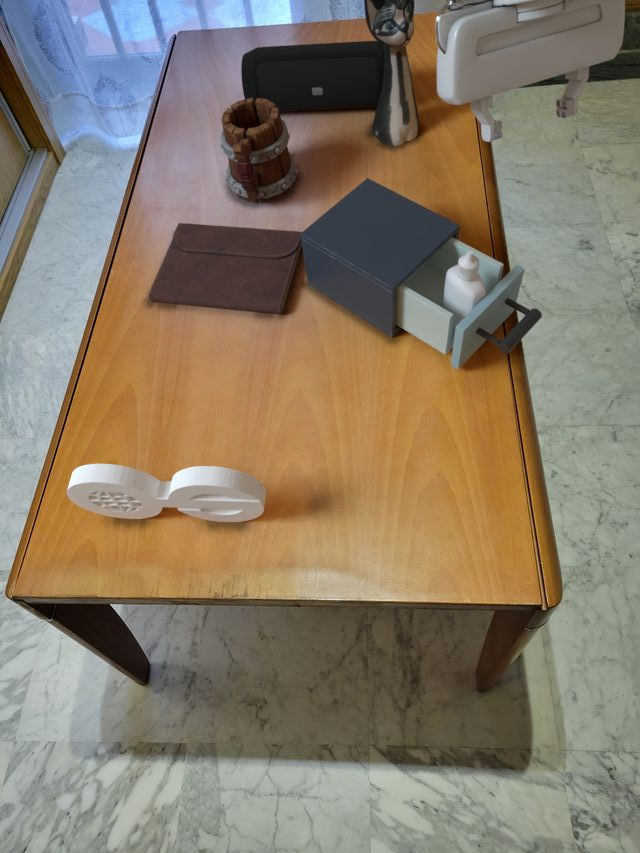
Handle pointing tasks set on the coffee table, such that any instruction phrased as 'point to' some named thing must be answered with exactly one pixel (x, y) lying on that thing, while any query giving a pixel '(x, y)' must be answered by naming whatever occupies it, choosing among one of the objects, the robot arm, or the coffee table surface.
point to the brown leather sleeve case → (228, 268)
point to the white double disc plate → (167, 492)
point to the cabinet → (371, 250)
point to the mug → (257, 151)
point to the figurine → (394, 70)
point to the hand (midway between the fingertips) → (529, 127)
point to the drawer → (434, 323)
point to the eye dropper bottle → (463, 288)
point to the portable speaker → (315, 75)
